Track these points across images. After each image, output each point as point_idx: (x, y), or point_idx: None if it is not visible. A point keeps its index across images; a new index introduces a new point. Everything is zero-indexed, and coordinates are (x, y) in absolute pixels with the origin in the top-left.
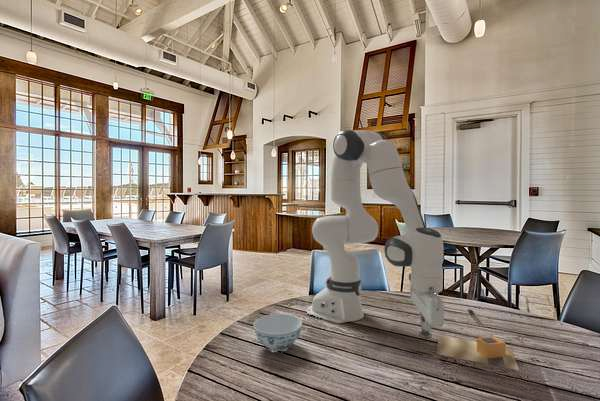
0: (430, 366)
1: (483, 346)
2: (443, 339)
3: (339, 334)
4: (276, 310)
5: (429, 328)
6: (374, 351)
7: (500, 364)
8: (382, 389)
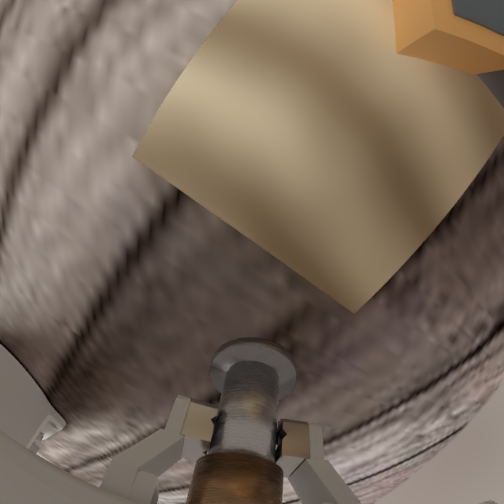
0: (395, 359)
1: (484, 58)
2: (191, 159)
3: None
4: (46, 454)
5: (316, 443)
6: None
7: None
8: (405, 468)
